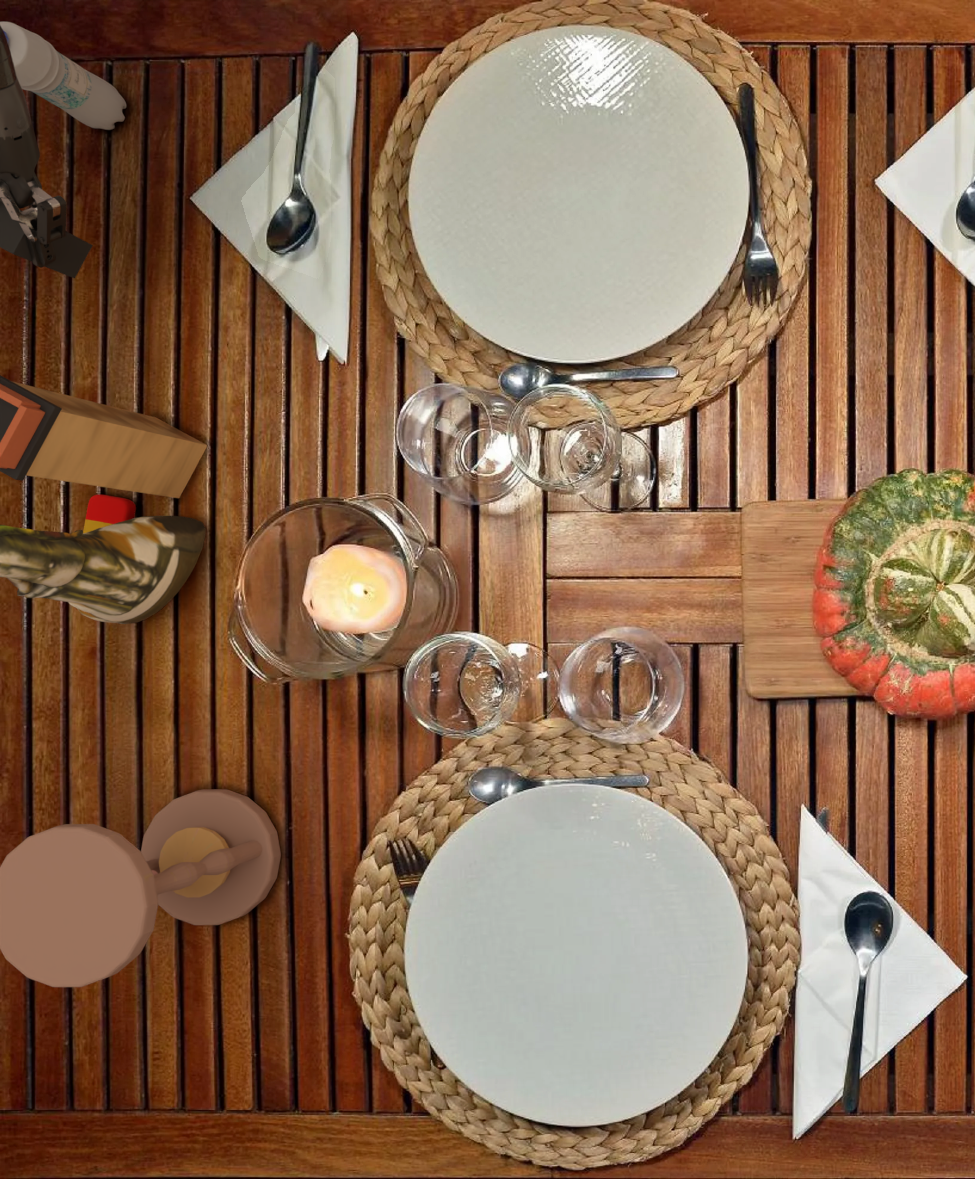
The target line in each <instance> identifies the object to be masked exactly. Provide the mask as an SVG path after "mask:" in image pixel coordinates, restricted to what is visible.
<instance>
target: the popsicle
mask: <svg viewBox="0 0 975 1179" xmlns="http://www.w3.org/2000/svg"><path fill="white" fill-rule="evenodd" d="M136 510H137V507H136V504H135V502H134V501H133V500H131V499H129V498H125V497H120V496H116V495H115V496H113V495H108V494H100V493H99V494H94V495H92V496H91V497H90V498H89V499H88V503H87V508H86V514H85V519H84V524H83V529H82V530H83V533H87V532H90V531H93V530H96V529H98V528H102V527H105V526H109V525H112V524H115V523H118V522H122V521H126V520H130V519H133V518H136Z"/></svg>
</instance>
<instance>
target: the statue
mask: <svg viewBox="0 0 975 1179" xmlns="http://www.w3.org/2000/svg"><path fill="white" fill-rule="evenodd" d="M83 530H84V529H77V530H74V531H72V532H70V533H68V532H63V531H54V530H53V531H51V530H38V529H30V528H23V527H17V526H11V525H6V524H0V578H6V579H7V580H8V581H9V582H10V583H11V584H12V585H13V586H14V587H16V588H17V590H16V594H17V596H18V597H24V598H26V599H47V600H53V601H57V602H65V603H68V604H69V605H70V606H71V607H72V608H75V609H77V611H78V612H79V613H80V615H81V616H85V617H87V618H89V619H91V620H94V621H97V622H102V623H111V624H121V625H131V624H137V623H139V622H142V621H145V620H147V619H148V618H150V617H153V615H155V614H157V613H158V612H160V611H161V610H162V609H163V608H164V607H165V606H167V605H168V604H169V603H170V602H171V601H172V600H173V599H174V597H175V596H176V595H177V594H178V593H179V592H180V590H181V589H182V588H183V586H184V585H185V583H186V582H187V580H188V579H189V578H190V576H191V574H192V572H193V570H194V569H195V567H196V565H197V563H198V560H199V557H200V555H201V552H202V551H203V548H204V545H205V544H204V543H205V539H206V533H207V529H206V526H205V524H204V523H203V522H202V521H200V520H198V519H196V518H193V517H188V516H180V515H164V514H163V515H160V514H159V515H145V516H139V517H134V518H133V519H130V520H126V521H122V522H118V523H115V524H112V525H109V526H105V527H102V528H98V529H96V530H93V531H90V532H87V533H83Z"/></svg>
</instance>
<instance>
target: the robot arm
mask: <svg viewBox="0 0 975 1179" xmlns="http://www.w3.org/2000/svg"><path fill="white" fill-rule="evenodd" d="M36 138H37V137H36V134H35V130H34V125H33V121H32V117H31V114H30V111H29V106H28V103H27V98H26V96H25V92H24V89H22V88H21V86H20V83H19V81H18V78H17V75H16V71H15V67H14V63H13V59H12V55H11V52H10V48H9V45H8V41H7V39H6V36H5V34H4V32H3V29H2V27H1V26H0V202H2V203H4V205H5V207H6V209H7V211H8V212H9V214H10V216H11V218H12V220H14V221H17V222H19V224H20V226H21V228H22V230H23V232H24V233H25V235H26V237H27V239H26V241H27V244H28V248H29V251H30V255H31V258H32V261H31V262H32V264H33V265H34V266H36V267H38V268H45V267H44V266H47V265H49V264H51V263H53V262H54V261H55V259H56V257H55V254H54V251H53V250H54V249H53V245H52V241H54V240H57V239H59V238H63V237H65V236H66V231H67V206H68V205H67V201H66V200H65V198H64V197H63V196H61V195H56V196H51V195H50V194H48V193H47V192H46V191H45V190H44V189H43V186H42V183H41V182H40V180H39V178H38V177H37V174H36V172H35V169H36V167H37V164H38V162H39V161H40V156H41V154H40V149H39V144H38V141H37V139H36ZM30 206H31V207H30ZM27 207H30V208H27ZM24 208H27V209H24ZM21 209H24V210H21ZM20 210H21V212H20ZM35 218H36V220H37V227H36V228H33V227H32V225H31V223H30V221H31V220H32V219H35Z"/></svg>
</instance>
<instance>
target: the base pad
mask: <svg viewBox="0 0 975 1179" xmlns="http://www.w3.org/2000/svg"><path fill="white" fill-rule="evenodd" d="M12 381H13V380H10V379H8V378H7V377H5V376H2V375H1V374H0V472H1V473H2V474H4V475H5V476H8V477H9V478H12V479H13V480H16V481H22V482H23V481H24V480H25V478H26V474H27V473H28V471H29V469H30V467H31V465H32V463H33V461H34V460H35V458H36V456H37V454H38V452H39V450H40V449H41V447H42V445H43V443H44V441H45V439H46V437H47V436H48V434H49V432H50V430H51V428H52V426H53V424H54V423H55V421H56V419H57V417H58V415H59V413H60V411H61V410H62V408H60V407H58V406H56V405H54V404H53V403H51V402H49V401H47V400H45V399H43V398H42V397H40V396H38V395H36V394H34V393H32V392H30V391H29V390H27V389H25V388H23V387H21V386H19V385H17V384H16V383H14V382H15V381H13V382H12Z"/></svg>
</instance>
